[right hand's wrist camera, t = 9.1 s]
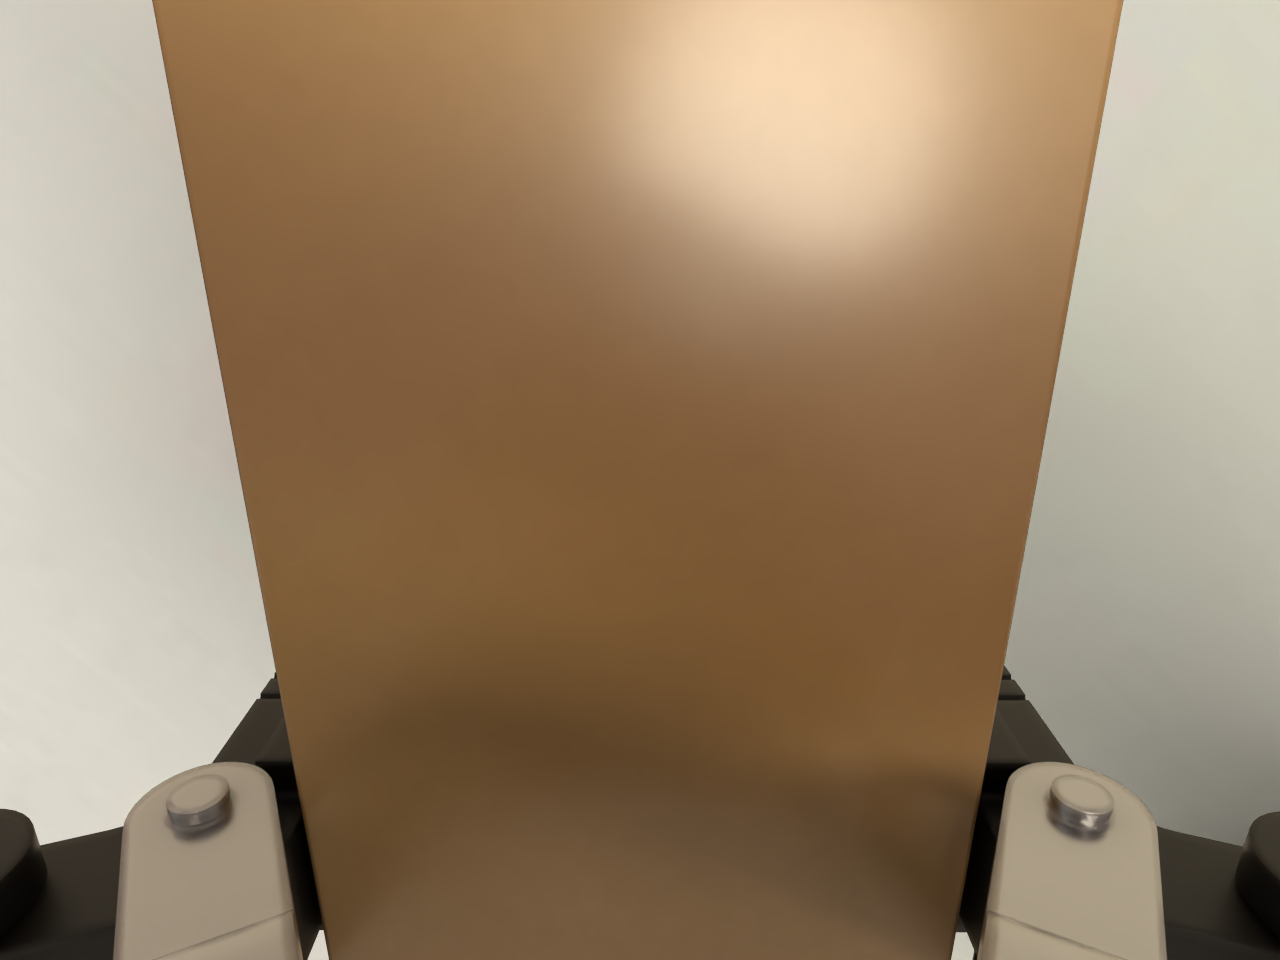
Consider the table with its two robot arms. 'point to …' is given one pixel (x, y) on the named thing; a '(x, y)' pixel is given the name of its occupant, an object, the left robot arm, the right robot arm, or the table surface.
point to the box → (638, 444)
